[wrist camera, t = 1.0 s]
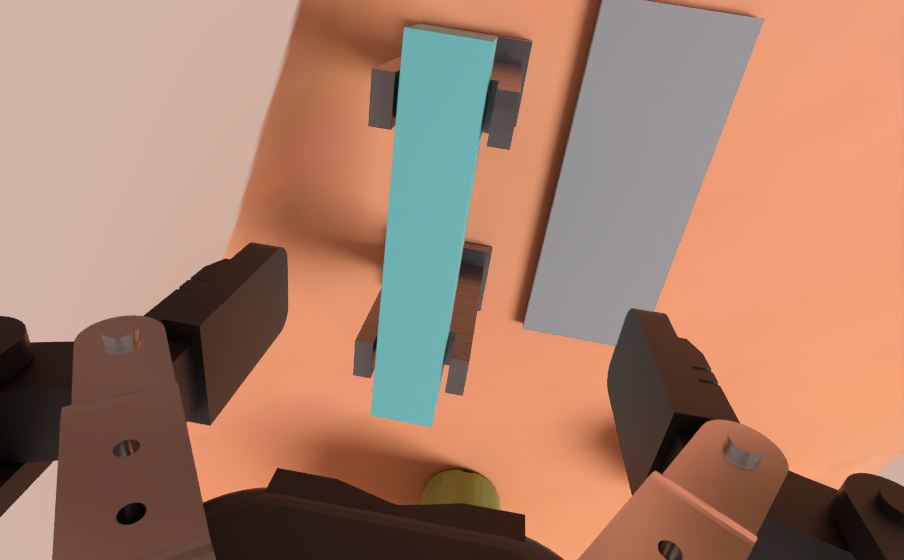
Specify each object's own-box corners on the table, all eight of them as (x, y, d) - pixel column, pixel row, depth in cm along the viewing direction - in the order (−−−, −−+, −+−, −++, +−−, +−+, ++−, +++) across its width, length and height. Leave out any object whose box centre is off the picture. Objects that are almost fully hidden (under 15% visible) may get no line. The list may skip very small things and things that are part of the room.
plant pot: (435, 429, 48) (412, 540, 38) (545, 485, 49) (551, 606, 40) (381, 501, 53) (348, 615, 43) (482, 550, 55) (472, 670, 45)
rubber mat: (602, -6, 31) (604, -6, 30) (758, 18, 30) (764, 18, 30) (522, 323, 42) (522, 328, 41) (636, 344, 41) (638, 350, 40)
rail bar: (419, 24, 23) (403, 27, 20) (497, 36, 23) (493, 41, 20) (385, 377, 33) (370, 415, 30) (440, 387, 33) (431, 427, 30)
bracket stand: (419, 22, 32) (365, 33, 22) (531, 40, 32) (535, 60, 21) (393, 288, 42) (346, 391, 31) (481, 304, 41) (465, 414, 30)
